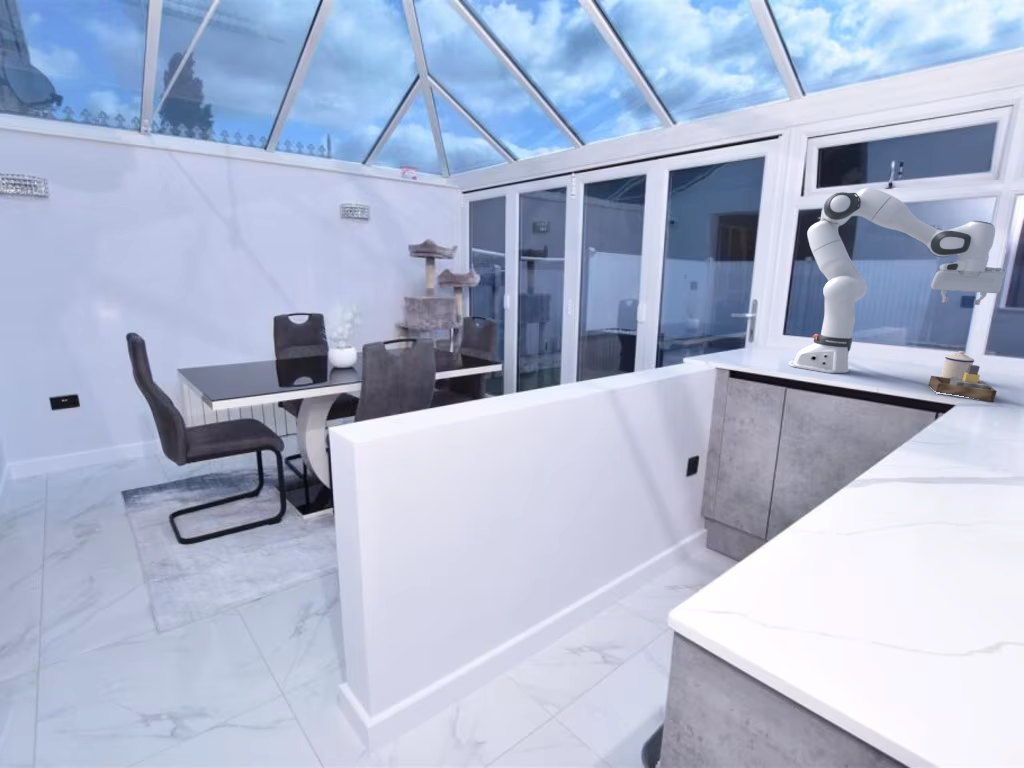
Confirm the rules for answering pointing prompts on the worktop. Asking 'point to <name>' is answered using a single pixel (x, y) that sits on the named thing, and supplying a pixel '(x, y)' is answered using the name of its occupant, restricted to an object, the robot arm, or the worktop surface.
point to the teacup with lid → (956, 365)
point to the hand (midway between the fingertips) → (960, 303)
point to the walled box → (963, 388)
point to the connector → (971, 374)
